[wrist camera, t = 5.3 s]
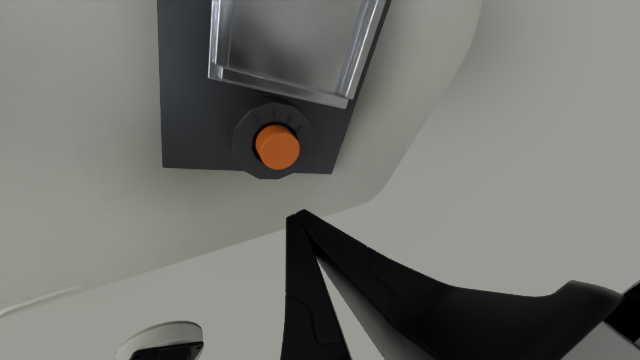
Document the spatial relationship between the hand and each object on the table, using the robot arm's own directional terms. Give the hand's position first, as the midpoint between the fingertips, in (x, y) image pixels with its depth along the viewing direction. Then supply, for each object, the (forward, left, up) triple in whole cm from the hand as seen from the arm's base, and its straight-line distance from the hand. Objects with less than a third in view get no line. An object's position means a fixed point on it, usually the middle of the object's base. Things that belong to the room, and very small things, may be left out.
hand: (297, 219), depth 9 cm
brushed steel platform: (+8, +2, -7) cm, 11 cm away
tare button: (+1, -1, -8) cm, 8 cm away
